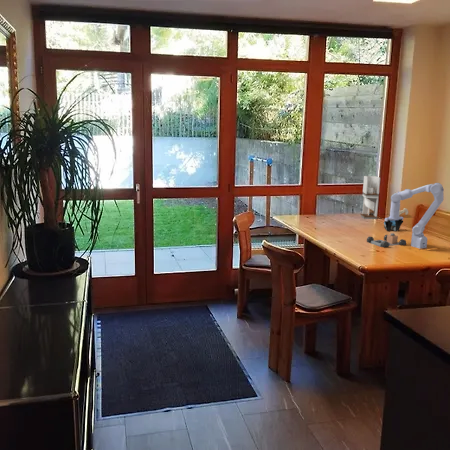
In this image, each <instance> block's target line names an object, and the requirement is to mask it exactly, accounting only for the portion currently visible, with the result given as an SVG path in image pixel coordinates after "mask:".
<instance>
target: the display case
mask: <svg viewBox="0 0 450 450" xmlns="http://www.w3.org/2000/svg"><path fill="white" fill-rule="evenodd" d="M380 186H381V177H379V176H377V175H364V176H363V186H362V195H361V196H362V197H363V201H362V213H361V214H360V217H361V218H362V219H364V220H367V219H368V220H377V218H378V207H379V196H380Z"/></svg>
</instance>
